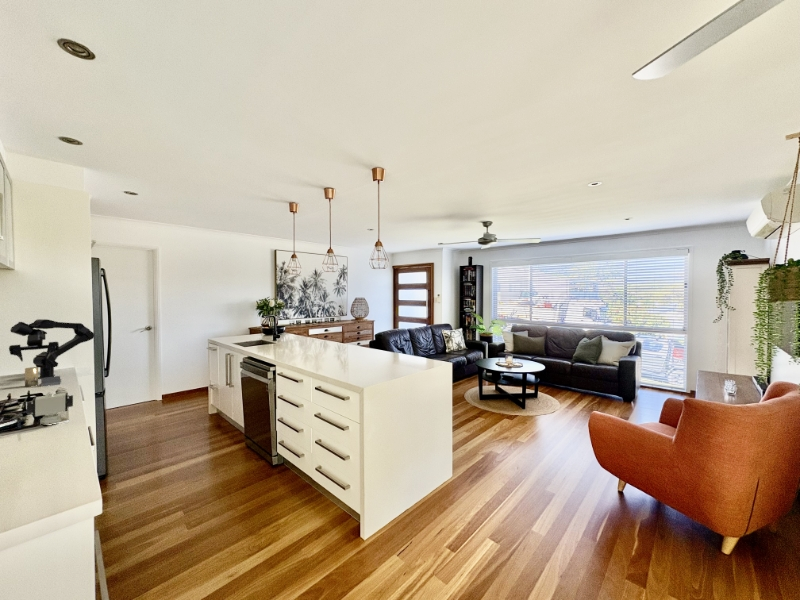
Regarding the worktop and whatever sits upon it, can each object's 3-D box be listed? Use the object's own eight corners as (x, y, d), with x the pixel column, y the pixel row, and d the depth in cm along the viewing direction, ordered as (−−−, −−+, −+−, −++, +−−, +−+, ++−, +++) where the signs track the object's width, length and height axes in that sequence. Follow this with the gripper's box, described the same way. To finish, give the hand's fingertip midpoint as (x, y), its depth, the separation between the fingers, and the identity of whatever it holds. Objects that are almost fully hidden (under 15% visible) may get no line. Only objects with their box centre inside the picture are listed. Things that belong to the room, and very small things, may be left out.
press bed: (43, 383, 180) (43, 375, 180) (61, 381, 185) (61, 373, 185) (41, 386, 174) (41, 378, 174) (59, 384, 178) (59, 376, 178)
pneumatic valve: (72, 422, 124) (72, 391, 124) (26, 430, 115) (26, 397, 115) (72, 418, 128) (73, 388, 128) (28, 426, 119) (28, 394, 119)
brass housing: (25, 385, 175) (25, 367, 175) (38, 384, 178) (38, 366, 178) (24, 387, 171) (24, 369, 171) (37, 386, 175) (37, 367, 175)
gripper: (8, 331, 177) (6, 353, 170) (57, 328, 190) (57, 348, 183) (11, 343, 183) (9, 365, 175) (58, 339, 196) (58, 360, 189)
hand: (34, 359), depth 180 cm, fingers open, 9 cm apart
